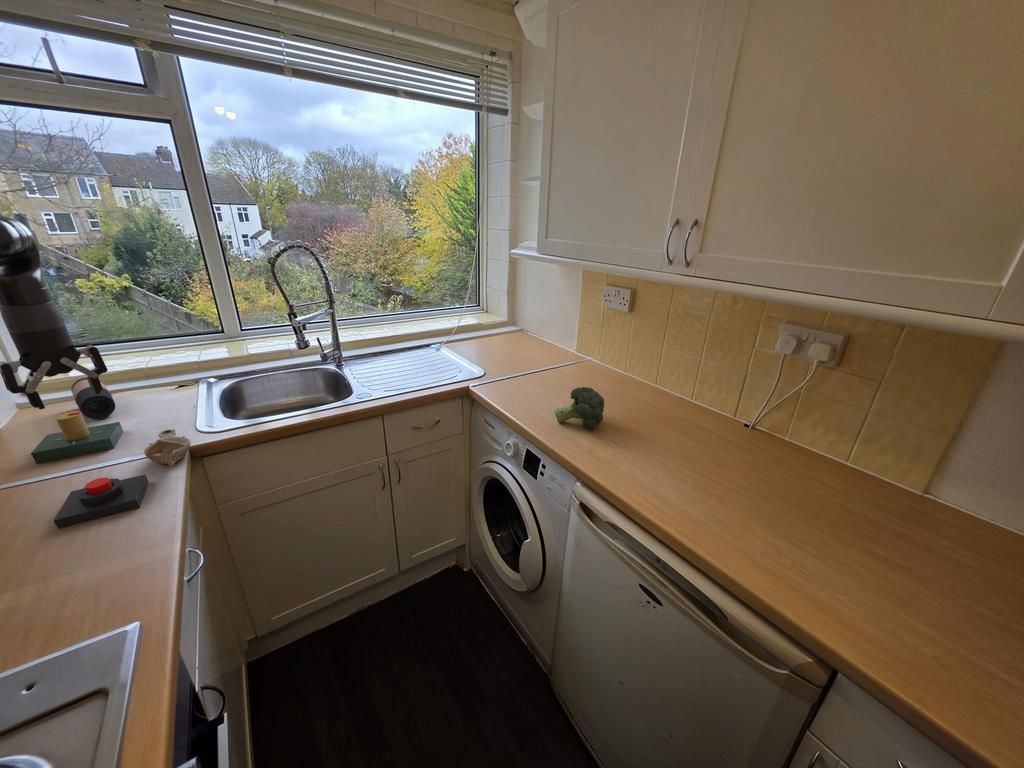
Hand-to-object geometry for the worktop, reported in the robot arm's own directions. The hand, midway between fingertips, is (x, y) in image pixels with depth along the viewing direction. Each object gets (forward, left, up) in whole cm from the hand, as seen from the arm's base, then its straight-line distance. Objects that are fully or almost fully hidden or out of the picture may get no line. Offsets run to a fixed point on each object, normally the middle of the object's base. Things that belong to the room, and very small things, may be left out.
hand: (70, 400), depth 85 cm
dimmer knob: (-8, +19, -16) cm, 26 cm away
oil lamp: (+12, +2, -19) cm, 23 cm away
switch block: (+3, -13, -19) cm, 23 cm away
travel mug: (-7, +35, -15) cm, 39 cm away
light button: (+3, -13, -15) cm, 21 cm away
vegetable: (+111, -35, -19) cm, 118 cm away
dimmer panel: (-8, +19, -19) cm, 28 cm away
